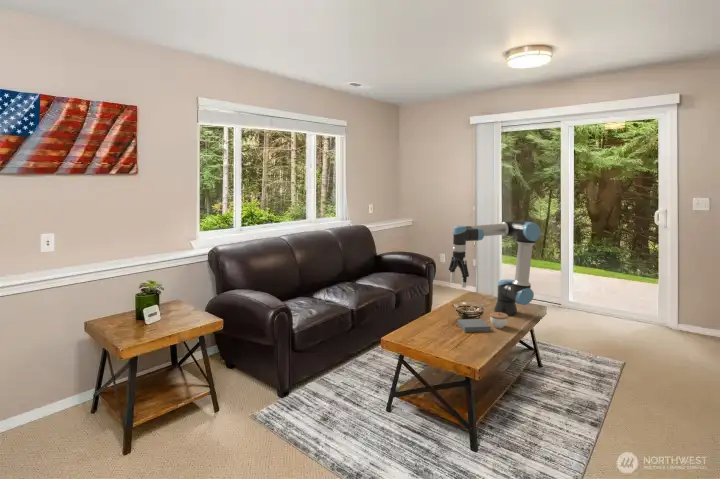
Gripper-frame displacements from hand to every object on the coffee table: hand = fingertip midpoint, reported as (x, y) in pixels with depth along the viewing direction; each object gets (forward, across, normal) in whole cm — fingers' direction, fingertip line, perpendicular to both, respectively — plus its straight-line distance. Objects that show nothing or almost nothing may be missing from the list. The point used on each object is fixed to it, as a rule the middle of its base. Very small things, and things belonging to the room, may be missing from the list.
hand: (458, 284), depth 258 cm
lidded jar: (+27, +9, +24) cm, 37 cm away
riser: (+27, +6, +8) cm, 29 cm away
